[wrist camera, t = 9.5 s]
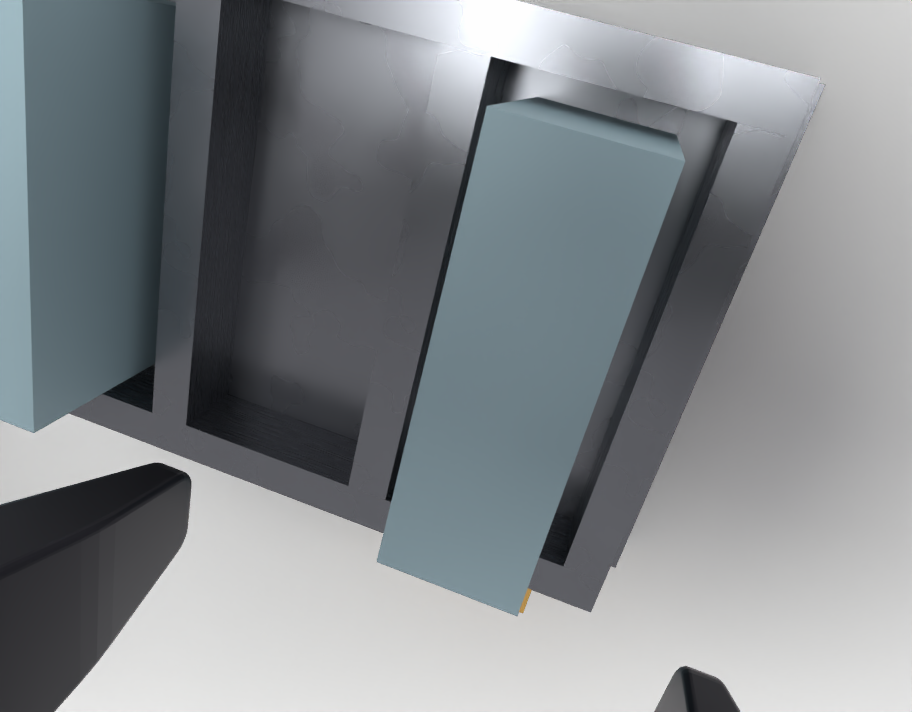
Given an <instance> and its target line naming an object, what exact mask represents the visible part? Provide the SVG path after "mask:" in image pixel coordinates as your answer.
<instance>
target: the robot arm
mask: <svg viewBox="0 0 912 712" xmlns="http://www.w3.org/2000/svg"><path fill="white" fill-rule="evenodd" d="M190 497H191V479H190V477H189V475H188V474H187V473H185V472H183V471H180V470H178V469H175V468H173V467H170V466H167V465H165V464H162V463H151V464H147V465H143V466H140V467H136V468H132V469H129V470H125V471H121V472H118V473H114V474H110V475H107V476H103V477H99V478H96V479H92V480H89V481H85V482H81V483H78V484H74V485H70V486H67V487H63V488H59V489H56V490H52V491H48V492H45V493H41V494H37V495H34V496H30V497H27V498H23V499H19V500H16V501H12V502H8V503H5V504H1V505H0V712H55V711H56V709H57V708H58V707H59V706H60V705H61V704H62V703H63V702H64V700H65V699H66V698H67V697H68V696H69V695H70V694H71V693H72V691H73V690H74V689H75V688H76V687H77V686H78V685H79V683H80V682H81V681H82V680H83V679H84V678H85V676H86V675H87V674H88V673H89V672H90V671H91V669H92V668H93V667H94V666H95V665H96V663H97V662H98V661H99V660H100V658H101V657H102V656H103V654H104V653H105V652H106V650H107V649H108V648H109V646H110V645H111V644H112V642H113V641H114V640H115V638H116V637H117V635H118V634H119V633H120V631H121V630H122V629H123V627H124V626H125V624H126V623H127V622H128V620H129V619H130V617H131V616H132V615H133V613H134V612H135V610H136V609H137V608H138V606H139V605H140V604H141V602H142V601H143V599H144V598H145V597H146V595H147V594H148V592H149V591H150V590H151V588H152V587H153V586H154V584H155V583H156V581H157V580H158V579H159V577H160V576H161V574H162V573H163V572H164V570H165V569H166V568H167V566H168V565H169V563H170V562H171V561H172V559H173V558H174V556H175V555H176V554H177V552H178V551H179V549H180V548H181V546H182V544H183V542H184V539H185V537H186V533H187V529H188V519H189V508H190ZM654 712H740V710H739V708H738V706H737V705H736V703H735V701H734V700H733V698H732V696H731V695H730V693H729V691H728V689H727V688H726V686H725V685H724V684H723V682H722V681H721V680H719V679H718V678H716V677H714V676H711V675H709V674H706V673H703V672H701V671H698V670H696V669H693V668H690V667H687V666H684V667H680V668H679V669H678V670H677V671H676V672H675V673H674V675H673V677H672V679H671V681H670V683H669V685H668V686H667V688H666V690H665V692H664V694H663V696H662V698H661V700H660V702H659V703H658V705H657V707H656V709H655V711H654Z"/></svg>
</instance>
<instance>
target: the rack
mask: <svg viewBox="0 0 912 712" xmlns="http://www.w3.org/2000/svg"><path fill="white" fill-rule="evenodd" d="M168 1H171V2H175V3H176V12H175V30H174V47H173V64H172V81H171V99H170V116H169V133H168V150H167V168H166V185H165V202H164V219H163V237H162V254H161V271H160V288H159V306H158V323H157V340H156V357H155V364H153V365H152V366H150V367H148V368H146V369H145V370H143V371H141V372H139V373H138V374H136V375H134V376H132V377H131V378H129V379H127V380H126V381H124V382H122V383H120V384H119V385H117V386H115V387H113V388H112V389H110V390H108V391H106V392H105V393H103V394H101V395H99V396H98V397H96V398H94V399H92V400H91V401H89V402H87V403H85V404H84V405H82V406H80V407H78V408H77V409H75V410H73V411H71V412H70V414H72V415H75V416H78V417H80V418H83V419H85V420H88V421H91V422H93V423H96V424H98V425H101V426H104V427H106V428H109V429H112V430H114V431H117V432H119V433H122V434H125V435H127V436H130V437H133V438H135V439H138V440H140V441H143V442H146V443H148V444H151V445H153V446H156V447H159V448H161V449H164V450H167V451H169V452H172V453H174V454H177V455H180V456H182V457H185V458H188V459H190V460H193V461H195V462H198V463H201V464H203V465H206V466H209V467H211V468H214V469H216V470H219V471H222V472H224V473H227V474H229V475H232V476H235V477H237V478H240V479H243V480H245V481H248V482H250V483H253V484H256V485H258V486H261V487H264V488H266V489H269V490H271V491H274V492H277V493H279V494H282V495H284V496H287V497H290V498H292V499H295V500H298V501H300V502H303V503H305V504H308V505H311V506H313V507H316V508H319V509H321V510H324V511H326V512H329V513H332V514H334V515H337V516H340V517H342V518H345V519H347V520H350V521H353V522H355V523H358V524H360V525H363V526H366V527H368V528H371V529H374V530H376V531H379V532H381V533H384V530H385V526H386V521H387V517H388V513H389V509H390V505H391V501H392V497H393V492H394V488H395V484H396V480H397V476H398V472H399V468H400V463H401V459H402V455H403V451H404V447H405V443H406V439H407V435H408V430H409V426H410V422H411V418H412V414H413V410H414V406H415V401H416V397H417V393H418V389H419V385H420V381H421V377H422V373H423V368H424V364H425V360H426V356H427V352H428V348H429V344H430V339H431V335H432V331H433V327H434V323H435V319H436V315H437V310H438V306H439V302H440V298H441V294H442V290H443V286H444V282H445V277H446V273H447V269H448V265H449V261H450V257H451V253H452V248H453V244H454V240H455V236H456V232H457V228H458V224H459V220H460V215H461V211H462V207H463V203H464V199H465V195H466V191H467V186H468V182H469V178H470V174H471V170H472V166H473V162H474V158H475V153H476V149H477V145H478V141H479V137H480V133H481V129H482V124H483V120H484V116H485V112H486V108H487V106H490V105H495V104H501V103H506V102H512V101H518V100H523V99H529V98H534V97H541V98H545V99H548V100H552V101H556V102H559V103H563V104H567V105H570V106H574V107H578V108H581V109H585V110H589V111H592V112H596V113H600V114H603V115H607V116H610V117H614V118H618V119H621V120H625V121H629V122H632V123H636V124H640V125H643V126H647V127H651V128H654V129H658V130H662V131H665V132H669V133H673V134H676V135H677V137H678V140H679V143H680V146H681V149H682V152H683V155H684V158H685V164H684V166H683V169H682V172H681V174H680V177H679V180H678V183H677V185H676V188H675V191H674V193H673V196H672V199H671V202H670V204H669V207H668V210H667V212H666V215H665V218H664V220H663V223H662V226H661V229H660V231H659V234H658V237H657V239H656V242H655V245H654V248H653V250H652V253H651V256H650V258H649V261H648V264H647V266H646V269H645V272H644V275H643V277H642V280H641V283H640V285H639V288H638V291H637V294H636V296H635V299H634V302H633V304H632V307H631V310H630V312H629V315H628V318H627V321H626V323H625V326H624V329H623V331H622V334H621V337H620V340H619V342H618V345H617V348H616V350H615V353H614V356H613V358H612V361H611V364H610V367H609V369H608V372H607V375H606V377H605V380H604V383H603V386H602V388H601V391H600V394H599V396H598V399H597V402H596V404H595V407H594V410H593V413H592V415H591V418H590V421H589V423H588V426H587V429H586V432H585V434H584V437H583V440H582V442H581V445H580V448H579V450H578V453H577V456H576V459H575V461H574V464H573V467H572V469H571V472H570V475H569V478H568V480H567V483H566V486H565V488H564V491H563V494H562V497H561V499H560V502H559V505H558V507H557V510H556V513H555V515H554V518H553V521H552V524H551V526H550V529H549V532H548V534H547V537H546V540H545V543H544V545H543V548H542V551H541V553H540V556H539V559H538V561H537V564H536V567H535V570H534V572H533V575H532V578H531V580H530V583H529V586H528V589H527V591H526V594H525V597H524V599H523V602H522V605H521V607H520V610H519V612H520V613H523V612H524V609H525V606H526V604H527V601H528V598H529V596H530V593H531V590H533V591H536V592H539V593H541V594H544V595H547V596H549V597H552V598H554V599H557V600H560V601H562V602H565V603H567V604H570V605H573V606H575V607H578V608H581V609H583V610H586V611H588V612H591V611H592V608H593V606H594V604H595V601H596V599H597V597H598V594H599V592H600V590H601V587H602V585H603V583H604V580H605V578H606V576H607V573H608V571H609V569H610V566H612V567H616V565H617V562H618V560H619V558H620V556H621V553H622V551H623V549H624V546H625V544H626V542H627V539H628V537H629V535H630V533H631V530H632V528H633V526H634V523H635V521H636V519H637V516H638V514H639V512H640V510H641V507H642V505H643V503H644V500H645V498H646V496H647V493H648V491H649V489H650V487H651V484H652V482H653V480H654V477H655V475H656V473H657V471H658V468H659V466H660V464H661V461H662V459H663V457H664V454H665V452H666V450H667V448H668V445H669V443H670V441H671V438H672V436H673V434H674V431H675V429H676V427H677V425H678V422H679V420H680V418H681V415H682V413H683V411H684V408H685V406H686V404H687V402H688V399H689V397H690V395H691V392H692V390H693V388H694V385H695V383H696V381H697V379H698V376H699V374H700V372H701V369H702V367H703V365H704V362H705V360H706V358H707V356H708V353H709V351H710V349H711V346H712V344H713V342H714V339H715V337H716V335H717V333H718V330H719V328H720V326H721V323H722V321H723V319H724V317H725V314H726V312H727V310H728V307H729V305H730V303H731V300H732V298H733V296H734V294H735V291H736V289H737V287H738V284H739V282H740V280H741V277H742V275H743V273H744V271H745V268H746V266H747V264H748V261H749V259H750V257H751V254H752V252H753V250H754V248H755V245H756V243H757V241H758V238H759V236H760V234H761V231H762V229H763V227H764V225H765V222H766V220H767V218H768V215H769V213H770V211H771V208H772V206H773V204H774V202H775V199H776V197H777V195H778V192H779V190H780V188H781V186H782V183H783V181H784V179H785V176H786V174H787V172H788V169H789V167H790V165H791V163H792V160H793V158H794V156H795V153H796V151H797V149H798V146H799V144H800V142H801V140H802V137H803V135H804V133H805V130H806V128H807V126H808V123H809V121H810V119H811V117H812V114H813V112H814V110H815V107H816V105H817V103H818V100H819V98H820V96H821V94H822V91H823V89H824V87H825V84H822V83H819V81H820V79H821V78H819V77H815V76H811V75H807V74H803V73H799V72H795V71H791V70H787V69H784V68H780V67H776V66H772V65H768V64H764V63H760V62H756V61H752V60H748V59H744V58H740V57H736V56H733V55H729V54H725V53H721V52H717V51H713V50H709V49H705V48H701V47H697V46H693V45H689V44H686V43H682V42H678V41H674V40H670V39H666V38H662V37H658V36H654V35H650V34H646V33H642V32H638V31H635V30H631V29H627V28H623V27H619V26H615V25H611V24H607V23H603V22H599V21H595V20H591V19H588V18H584V17H580V16H576V15H572V14H568V13H564V12H560V11H556V10H552V9H548V8H544V7H540V6H537V5H533V4H529V3H525V2H521V1H517V0H168Z"/></svg>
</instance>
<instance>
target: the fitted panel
mask: <svg viewBox="0 0 912 712" xmlns="http://www.w3.org/2000/svg"><path fill="white" fill-rule="evenodd" d="M175 12H176V3H175V2H171V1H168V0H0V420H2V421H4V422H7V423H9V424H12V425H15V426H17V427H20V428H22V429H25V430H27V431H30V432H33V433H35V432H37V431H38V430H40V429H42V428H44V427H45V426H47V425H49V424H50V423H52V422H54V421H56V420H57V419H59V418H61V417H63V416H64V415H66V414H68V413H70V412H71V411H73V410H75V409H77V408H78V407H80V406H82V405H84V404H85V403H87V402H89V401H91V400H92V399H94V398H96V397H98V396H99V395H101V394H103V393H105V392H106V391H108V390H110V389H112V388H113V387H115V386H117V385H119V384H120V383H122V382H124V381H126V380H127V379H129V378H131V377H132V376H134V375H136V374H138V373H139V372H141V371H143V370H145V369H146V368H148V367H150V366H152V365H153V364H155V357H156V340H157V323H158V306H159V288H160V271H161V254H162V237H163V219H164V202H165V185H166V168H167V150H168V133H169V116H170V99H171V81H172V64H173V47H174V30H175Z"/></svg>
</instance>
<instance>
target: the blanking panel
mask: <svg viewBox="0 0 912 712" xmlns="http://www.w3.org/2000/svg"><path fill="white" fill-rule="evenodd" d="M684 164H685V158H684V155H683V152H682V149H681V146H680V143H679V140H678V137H677V135H676V134H673V133H669V132H665V131H662V130H658V129H654V128H651V127H647V126H643V125H640V124H636V123H632V122H629V121H625V120H621V119H618V118H614V117H610V116H607V115H603V114H600V113H596V112H592V111H589V110H585V109H581V108H578V107H574V106H570V105H567V104H563V103H559V102H556V101H552V100H548V99H545V98H541V97H534V98H529V99H523V100H518V101H512V102H506V103H501V104H495V105H490V106H487V108H486V112H485V116H484V120H483V124H482V129H481V133H480V137H479V141H478V145H477V149H476V153H475V158H474V162H473V166H472V170H471V174H470V178H469V182H468V186H467V191H466V195H465V199H464V203H463V207H462V211H461V215H460V220H459V224H458V228H457V232H456V236H455V240H454V244H453V248H452V253H451V257H450V261H449V265H448V269H447V273H446V277H445V282H444V286H443V290H442V294H441V298H440V302H439V306H438V310H437V315H436V319H435V323H434V327H433V331H432V335H431V339H430V344H429V348H428V352H427V356H426V360H425V364H424V368H423V373H422V377H421V381H420V385H419V389H418V393H417V397H416V401H415V406H414V410H413V414H412V418H411V422H410V426H409V430H408V435H407V439H406V443H405V447H404V451H403V455H402V459H401V463H400V468H399V472H398V476H397V480H396V484H395V488H394V492H393V497H392V501H391V505H390V509H389V513H388V517H387V521H386V526H385V530H384V534H383V538H382V542H381V546H380V550H379V554H378V559H377V562H378V563H381V564H384V565H386V566H389V567H391V568H394V569H396V570H399V571H402V572H404V573H407V574H409V575H412V576H414V577H417V578H420V579H422V580H425V581H427V582H430V583H433V584H435V585H438V586H440V587H443V588H445V589H448V590H451V591H453V592H456V593H458V594H461V595H463V596H466V597H469V598H471V599H474V600H476V601H479V602H482V603H484V604H487V605H489V606H492V607H494V608H497V609H500V610H502V611H505V612H507V613H510V614H513V615H515V616H518V613H519V610H520V607H521V605H522V602H523V599H524V597H525V594H526V591H527V589H528V586H529V583H530V580H531V578H532V575H533V572H534V570H535V567H536V564H537V561H538V559H539V556H540V553H541V551H542V548H543V545H544V543H545V540H546V537H547V534H548V532H549V529H550V526H551V524H552V521H553V518H554V515H555V513H556V510H557V507H558V505H559V502H560V499H561V497H562V494H563V491H564V488H565V486H566V483H567V480H568V478H569V475H570V472H571V469H572V467H573V464H574V461H575V459H576V456H577V453H578V450H579V448H580V445H581V442H582V440H583V437H584V434H585V432H586V429H587V426H588V423H589V421H590V418H591V415H592V413H593V410H594V407H595V404H596V402H597V399H598V396H599V394H600V391H601V388H602V386H603V383H604V380H605V377H606V375H607V372H608V369H609V367H610V364H611V361H612V358H613V356H614V353H615V350H616V348H617V345H618V342H619V340H620V337H621V334H622V331H623V329H624V326H625V323H626V321H627V318H628V315H629V312H630V310H631V307H632V304H633V302H634V299H635V296H636V294H637V291H638V288H639V285H640V283H641V280H642V277H643V275H644V272H645V269H646V266H647V264H648V261H649V258H650V256H651V253H652V250H653V248H654V245H655V242H656V239H657V237H658V234H659V231H660V229H661V226H662V223H663V220H664V218H665V215H666V212H667V210H668V207H669V204H670V202H671V199H672V196H673V193H674V191H675V188H676V185H677V183H678V180H679V177H680V174H681V172H682V169H683V166H684Z"/></svg>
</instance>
